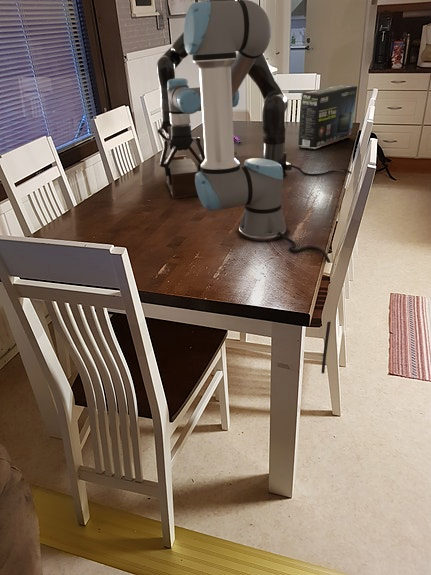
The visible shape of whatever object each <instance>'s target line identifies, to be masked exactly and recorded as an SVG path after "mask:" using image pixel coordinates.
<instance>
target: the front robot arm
mask: <svg viewBox="0 0 431 575" xmlns="http://www.w3.org/2000/svg"><path fill="white" fill-rule="evenodd" d="M271 27H272V26H271V21H270V19H269V16H268V14H267V13H266V11H265V10H264V9H263V7H262V6H261V5H260V4H258V3H256V2H254V1H252V0H233V1H209V0H204V1H196V2H192V3H191V4H190V5H189V7H188V9H187V11H186V15H185V17H184V24H183V32H184V45H185V50H186V52H187V53H188V54H189V55H190V56H192V63H193V64H194V65H195V66H197V68H198V72H199V87H190V85H189V82H188V79H187V78H185V77H184V78H181V77H179V78H178V77H177V78H176V77H175V79H170V80H168V82H167V92H168V101H169V112H170V124H172V125H171V140H164V139H163V141H162V143H163V146H162V151H161V156H160V160H159V166H160V168H164V175H165V177H166V176H168V180H169V185H172V184H171V172H170V167H169V165H170V163H171V161H172V159H173V157H174V156H176V153H177V152H178V151H179V152H181V151H187V150H189V152H190V153H191V154H192V155H193V157H194V158H195V160H196V161H197V162H198V163H196V167H197V169H198V170H199V172H198V173H196V175H195V184H196V189H197V193H198V196H197V197H198V198H199V201H200V204H201V205H202V207H203V208H204V209H206V210H207V211H222V210H226V209H231V208H238V207H244V211H243V213H242V216H241V220H240V221H239V223H238V232H239V235H240V236H241V237H242V238H244V239H247V240H250V241H254V242H271V241H277V240H279V239H281V238H283V239H284V240H285V241H287V242H288V243H290V244H291V246H290V247H289V249H288V250H289V251H290V252H291V253H300V252H303V251H306V250H313V251H314V250H315V251H319V252H320V253H321V254H322V255H323V258H324V259H325V261H326V263H328V264H331V259H330V258H329V255H328V254H327V253H326V251H325V250H324V249H323V248H321V247H319V246H317V245H305V246H302V247H300V248H296V246H297V243H296V242H295V241H294V240H293V239H291V238H290V237H288V236H286V234H287V223H286V221H285V216H284V214H283V210H282V200H283V183H284V175H283V169H282V166H281V165H280V164H279V163H277V162H275V161H272V160H267V159H263V158H259V157H258V158H257V157H256V158H255V157H253V158H248V159H245V160H244V163H243V165H242V166H241V162H240V161H239V160H238V159H237V158H236V156H234V148H235V139H234V135H235V133H234V113H233V108H236V107H237V106H238V105H239V100H240V90H239V89H240V88H241V85H242V84H243V82H244V80H245V79H246V77H247V76H248V72H249V70H250V69H251V67H252V65H253V63H254V62H255V60H256V59H257V58H259V57H261V56H262V55H263V54H264V55H265V52H266V50H267V49H268V47H269V44H270V42H271V37H272V28H271ZM197 112H201V119H202V131H203V132H202V134H203V147H204V149H203V147H202V144H201V138H200V137H199V136H196V137H193V136H192V125H191V120H192V119H191V115H193V114H195V113H197ZM193 142H194V144H196V147H197V150H198V151H199V155H200V154H201V157H202V160H201V158H200V156H199V155H198V154H197V152H195V150H194V149H193V147H192V146H191V145H192V144H193ZM170 143H172V145H173V148H172V150H170V153H169V154H168V153H167V152H168V149H169V148H168V147H170ZM204 152H205V154H204ZM167 154H168V156H167ZM165 157H168V158H167V160H166V162H165V163H164V161H165ZM330 330H331V320H330V321H327V323H326V331H325V337H324V345H323V354H322V362H321V363H322V364H321V374H325V372H326V371H325V370H326V360H327V352H328V346H329V338H330V332H331V331H330Z"/></svg>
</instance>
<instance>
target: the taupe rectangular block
mask: <svg viewBox="0 0 431 575" xmlns="http://www.w3.org/2000/svg"><path fill="white" fill-rule="evenodd" d="M165 162H166V161H165ZM169 167H170V172H171V184H172V185H169V180H168V176H166V175H165V177H166V178H165V179H166V185H167V187H168V190H169V191H170V195H171V196H172V199H182V198H192V197H199V196H198V193H197V189H196V184H195V175H196V173H198V172H199V170H198V169H197V165H196V164H195V162H194V161H193V159H192V158H187V159H181V160H172V161H171V163H170V165H169Z"/></svg>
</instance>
